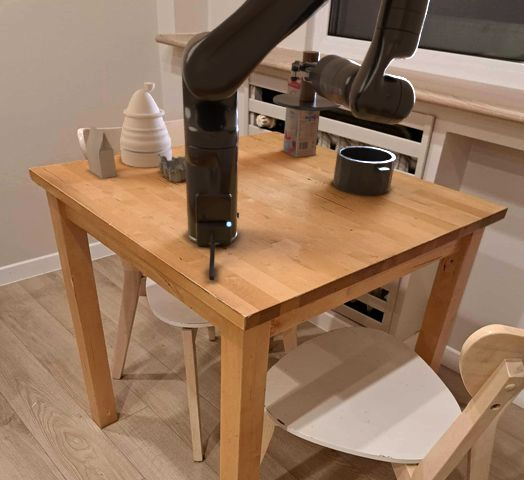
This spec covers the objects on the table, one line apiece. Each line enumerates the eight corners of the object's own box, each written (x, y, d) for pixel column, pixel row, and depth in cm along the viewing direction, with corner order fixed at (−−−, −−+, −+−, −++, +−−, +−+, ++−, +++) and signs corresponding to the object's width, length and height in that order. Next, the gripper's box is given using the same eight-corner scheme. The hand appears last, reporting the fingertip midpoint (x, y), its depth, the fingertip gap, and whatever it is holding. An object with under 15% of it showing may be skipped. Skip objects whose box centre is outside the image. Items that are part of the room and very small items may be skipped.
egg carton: (157, 169, 130) (156, 152, 128) (186, 167, 133) (185, 150, 130) (169, 183, 122) (168, 165, 120) (200, 180, 125) (199, 163, 123)
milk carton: (295, 157, 145) (302, 67, 132) (283, 150, 149) (289, 63, 136) (315, 154, 147) (324, 66, 134) (302, 148, 152) (310, 62, 139)
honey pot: (167, 151, 143) (163, 78, 132) (176, 166, 133) (172, 88, 122) (119, 153, 139) (111, 78, 129) (124, 168, 129) (115, 88, 119)
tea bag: (102, 178, 123) (96, 133, 117) (89, 170, 127) (83, 127, 121) (116, 175, 125) (111, 131, 119) (103, 168, 129) (98, 125, 123)
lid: (286, 113, 105) (290, 56, 99) (264, 99, 116) (266, 46, 110) (352, 112, 109) (359, 57, 103) (324, 98, 120) (329, 47, 114)
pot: (353, 201, 119) (358, 168, 114) (320, 174, 133) (323, 144, 129) (405, 197, 122) (412, 165, 118) (368, 172, 137) (373, 142, 132)
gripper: (376, 57, 97) (337, 46, 110) (305, 57, 93) (274, 45, 106) (369, 101, 102) (333, 85, 115) (302, 103, 98) (272, 86, 111)
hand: (304, 66), depth 110 cm, fingers closed on lid, 3 cm apart
